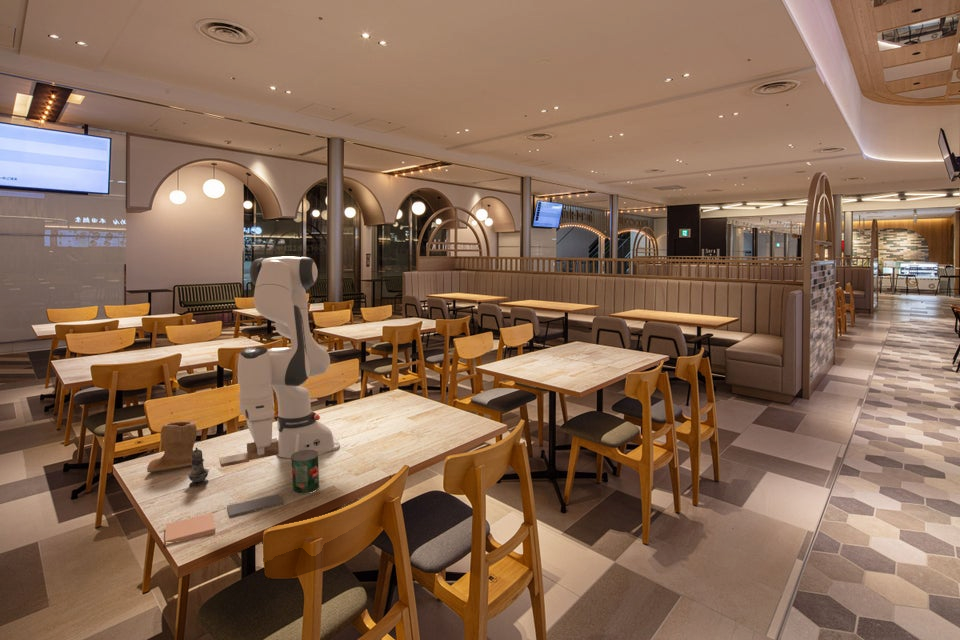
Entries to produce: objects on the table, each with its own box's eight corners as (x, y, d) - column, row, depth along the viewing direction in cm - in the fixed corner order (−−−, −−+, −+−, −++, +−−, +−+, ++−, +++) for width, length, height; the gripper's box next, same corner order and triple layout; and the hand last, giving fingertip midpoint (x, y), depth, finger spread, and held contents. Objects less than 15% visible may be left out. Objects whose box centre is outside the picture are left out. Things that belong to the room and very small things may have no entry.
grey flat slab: (279, 495, 147) (279, 493, 147) (283, 504, 142) (283, 502, 142) (227, 507, 139) (227, 505, 139) (229, 517, 134) (229, 515, 134)
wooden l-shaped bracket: (276, 449, 144) (275, 437, 144) (279, 455, 141) (278, 442, 140) (219, 461, 136) (218, 447, 136) (221, 467, 133) (220, 453, 132)
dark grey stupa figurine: (190, 480, 156) (187, 444, 154) (211, 478, 158) (208, 442, 156) (186, 488, 150) (183, 452, 149) (207, 486, 152) (205, 449, 151)
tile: (212, 512, 135) (165, 524, 129) (215, 528, 127) (165, 541, 121) (213, 518, 135) (166, 529, 129) (215, 533, 127) (165, 547, 121)
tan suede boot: (201, 455, 176) (198, 415, 174) (200, 467, 165) (198, 425, 163) (150, 463, 168) (147, 421, 166) (147, 477, 158) (143, 433, 156)
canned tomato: (321, 490, 150) (320, 456, 149) (294, 496, 146) (293, 462, 145) (316, 480, 157) (315, 447, 156) (290, 485, 153) (289, 452, 152)
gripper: (239, 396, 144) (242, 440, 147) (249, 417, 127) (252, 467, 130) (262, 393, 148) (265, 436, 150) (275, 413, 131) (277, 461, 133)
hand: (259, 451), depth 140 cm, fingers closed on wooden l-shaped bracket, 3 cm apart
